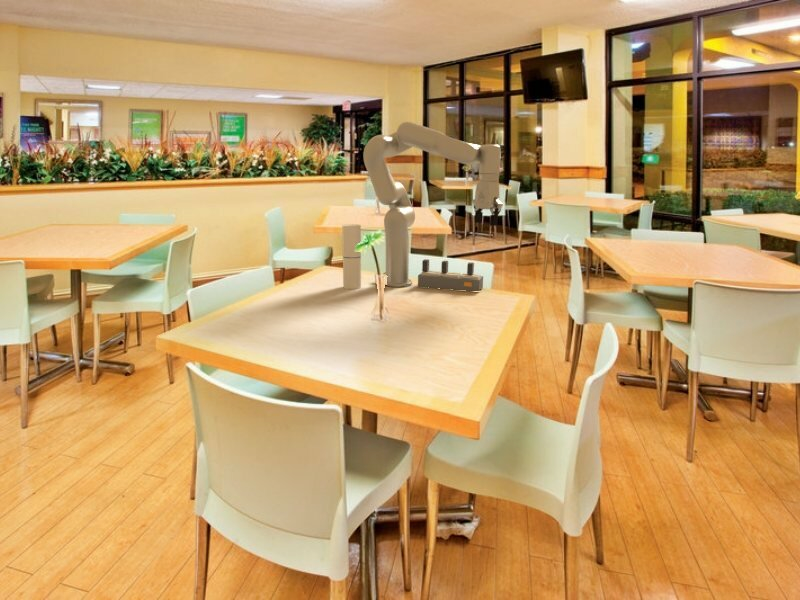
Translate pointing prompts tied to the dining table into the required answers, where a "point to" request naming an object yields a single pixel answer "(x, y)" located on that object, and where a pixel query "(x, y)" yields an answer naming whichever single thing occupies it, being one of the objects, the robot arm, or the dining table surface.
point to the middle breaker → (444, 267)
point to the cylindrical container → (351, 256)
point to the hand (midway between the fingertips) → (485, 224)
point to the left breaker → (425, 265)
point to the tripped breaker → (470, 268)
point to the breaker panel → (450, 280)
